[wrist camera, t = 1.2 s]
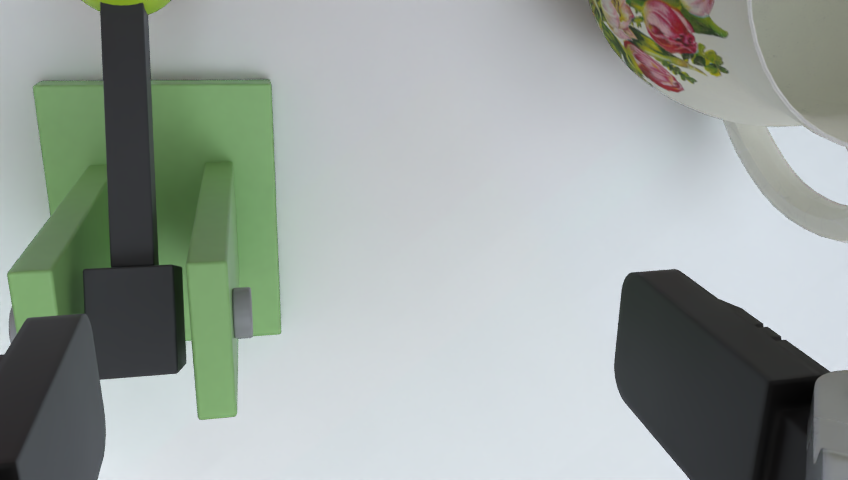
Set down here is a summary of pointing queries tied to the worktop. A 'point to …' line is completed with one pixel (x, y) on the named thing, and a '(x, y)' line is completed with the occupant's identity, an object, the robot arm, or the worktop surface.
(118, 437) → the worktop surface
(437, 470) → the worktop surface
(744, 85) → the pitcher
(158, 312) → the switch lever
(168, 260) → the green crank stand
